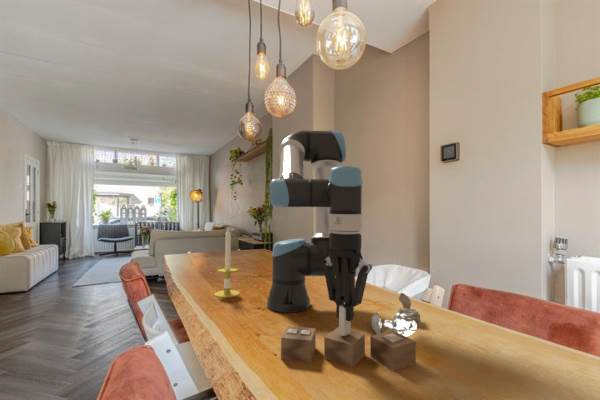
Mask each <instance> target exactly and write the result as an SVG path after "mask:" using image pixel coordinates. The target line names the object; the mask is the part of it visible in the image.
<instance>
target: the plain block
mask: <svg viewBox="0 0 600 400" xmlns="http://www.w3.org/2000/svg"><path fill="white" fill-rule="evenodd" d="M323 340H324V341H323V342H324V343H323V344H324V345H323V347H324V353H323V356H324V357H323V358H324V359H325V360H328V361H331V362H334V363H337V364H340V365H342V366H345V367H349V368H351V369H352V368H354V367H355V366H356V365H357V364H358V363H359V362H360V360H362V359H363V358H364V357H365V355H366V351H365V350H366V345H365V344H366V335H365V333H361V332H357V331H353V330H351V333H349V334H347V335H346V336H343V335H340V334H339V327H337V328H335V330H332V331H331V332H330V333H328V334H327V335H325V336H324V339H323Z"/></svg>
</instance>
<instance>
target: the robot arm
mask: <svg viewBox="0 0 600 400" xmlns="http://www.w3.org/2000/svg"><path fill="white" fill-rule="evenodd" d="M346 147H347V146H346V142H345V137H344V135H343V133H342V132H340V131H338V130H337V131H336V130H335V131H334V130H298V131H294V132H292V133H290V134H289V135H287V136H286V137H285V138H284V139H283V140H282V141H281V142H280V145H279V146H278V153H277V154H278V157H279V160H280V164H279V165H280V166H279V173H278V174H279V175H278V178H273V179H271V181H270V184H269V186H270V188H269V189H270V190H269V193H270V194H269V196H270V197H269V199H270V204H271V206H274V207H281V208H282V207H283V208H315V209H314V213H315V214H314V216H315V217H314V219H315V221H314V222H315V223H314V225H315V227H314V228H315V229H314V231H315V233H314V234H313V235H312V236H311V239H310V241H311V242H307V240H306V239H305V238H291V239H284V240H280V241H277V242H275V243H274V244H273V247H272V254H271V257H272V273H271V274H272V275H271V276H272V277H271V279H272V282H271V287H270V290H269V294H268V297H267V300H266V307H267V308H268V309H269V310H271V311H274V312H278V313H298V312H303V311H305V310H307V309H309V308H310V306H311V299H310V297H309V294H308V289H307V286H306V277H325V283H326V288H327V289H326V290H327V294H328V299H329V300H330V301H331V302H332V301H333V303H335V305H336V309H335V310H336V312H335V313H336V318H337V319H338V328H339V334H340V335H343V336H346V335H347V334H349V333H351V331H352V329H351V327H352V321H353V320H354V316H355V315H354V312H355V311H354V309H355V307H357V306H359V305H361V304H362V301H363V297H364V294H365V293H364V292H365V289H366V284H367V279H368V275H369V274H370V272H371V271H372V268H373V265H372V264H370V263H369V264H368V263H367V262H365V261H364V260H363V259H364V258H363V256H362V255H363V254H362V252H361V251H362V233H360V232H361V231H362V230H363V229H362V227H363V226H362V221H363V220H362V191H363V190H362V187H363V185H362V184H363V180H362V179H363V178H362V170H361V169H360V167H357V166H352V165H350V166H349V165H345V166H343V164H342V163H344V162H346V161H345V160H346V157H347V148H346ZM304 162H310V167H311V168H312V169H313V170H314V178H305V170H304V169H305V167H304ZM357 269H358V273H357ZM356 274H357V275H356ZM355 278H356V279H355ZM355 280H356V281H355Z"/></svg>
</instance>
